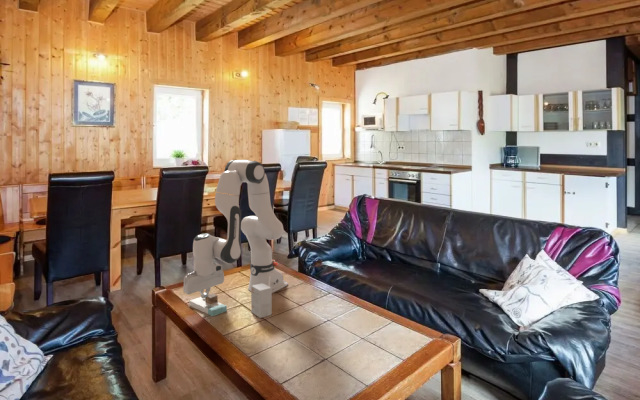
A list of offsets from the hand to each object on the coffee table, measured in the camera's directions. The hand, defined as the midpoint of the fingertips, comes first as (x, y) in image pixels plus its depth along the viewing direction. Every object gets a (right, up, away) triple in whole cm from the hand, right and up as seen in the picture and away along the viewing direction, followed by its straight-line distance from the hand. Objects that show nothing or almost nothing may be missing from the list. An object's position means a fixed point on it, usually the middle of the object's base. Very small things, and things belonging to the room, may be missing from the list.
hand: (204, 297), depth 192 cm
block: (+2, -3, +3) cm, 5 cm away
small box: (+27, -7, -2) cm, 28 cm away
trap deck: (+1, -6, +2) cm, 6 cm away
